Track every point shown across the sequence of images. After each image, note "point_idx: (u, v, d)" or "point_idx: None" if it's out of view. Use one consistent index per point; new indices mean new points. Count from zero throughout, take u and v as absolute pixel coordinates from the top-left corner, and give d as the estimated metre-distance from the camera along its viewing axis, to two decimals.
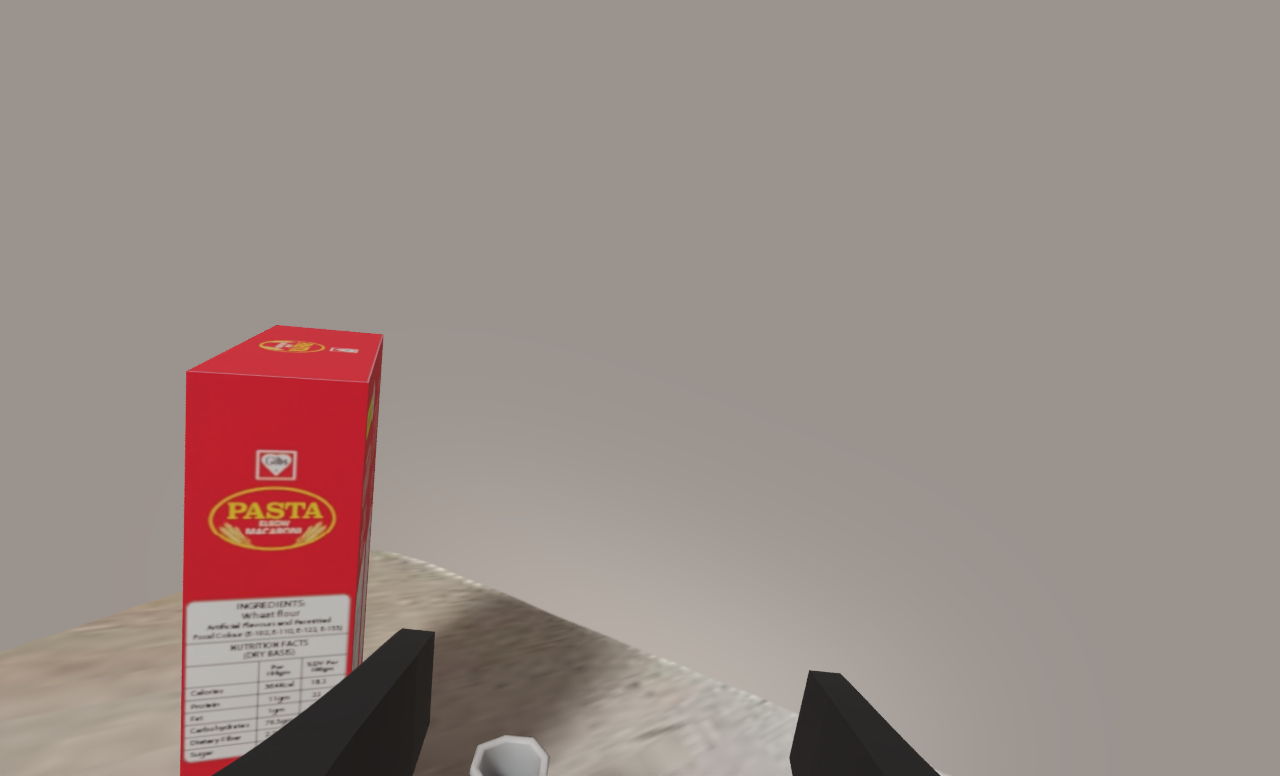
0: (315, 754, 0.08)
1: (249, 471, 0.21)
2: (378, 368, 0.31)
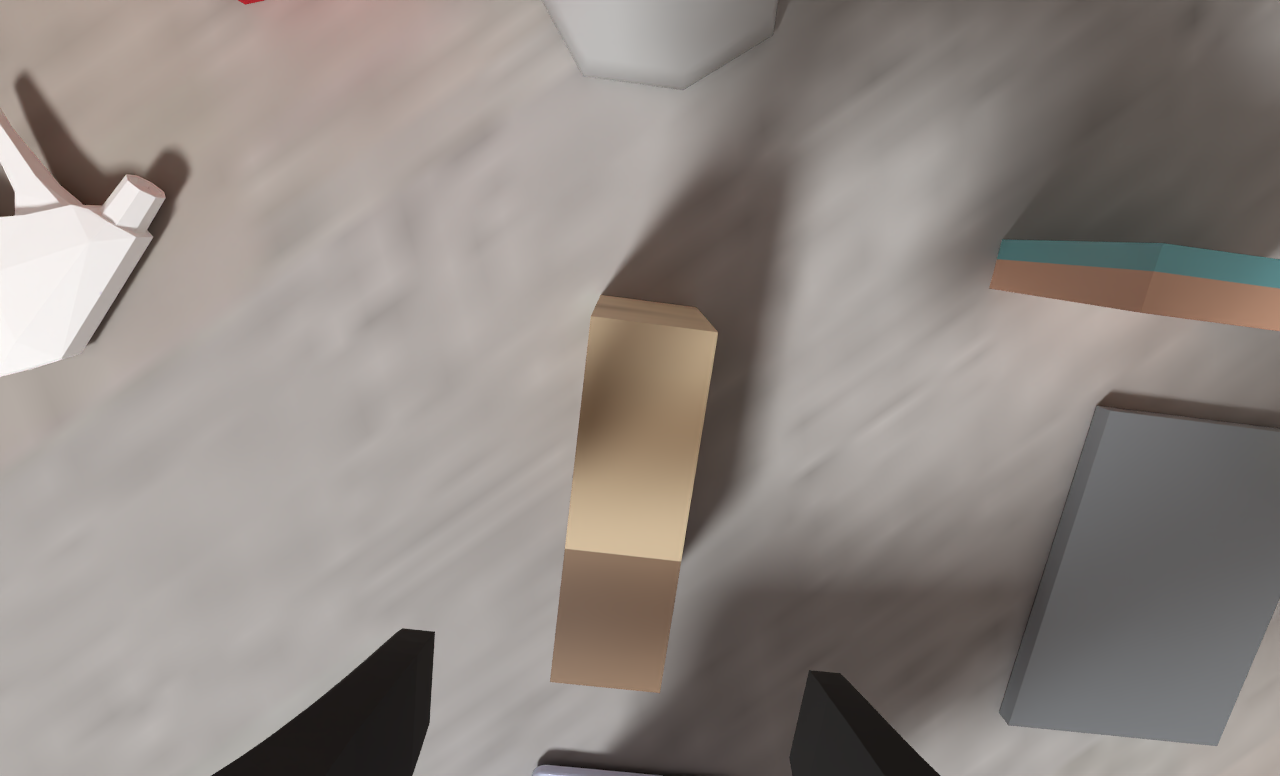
0: (315, 754, 0.08)
1: None
2: None
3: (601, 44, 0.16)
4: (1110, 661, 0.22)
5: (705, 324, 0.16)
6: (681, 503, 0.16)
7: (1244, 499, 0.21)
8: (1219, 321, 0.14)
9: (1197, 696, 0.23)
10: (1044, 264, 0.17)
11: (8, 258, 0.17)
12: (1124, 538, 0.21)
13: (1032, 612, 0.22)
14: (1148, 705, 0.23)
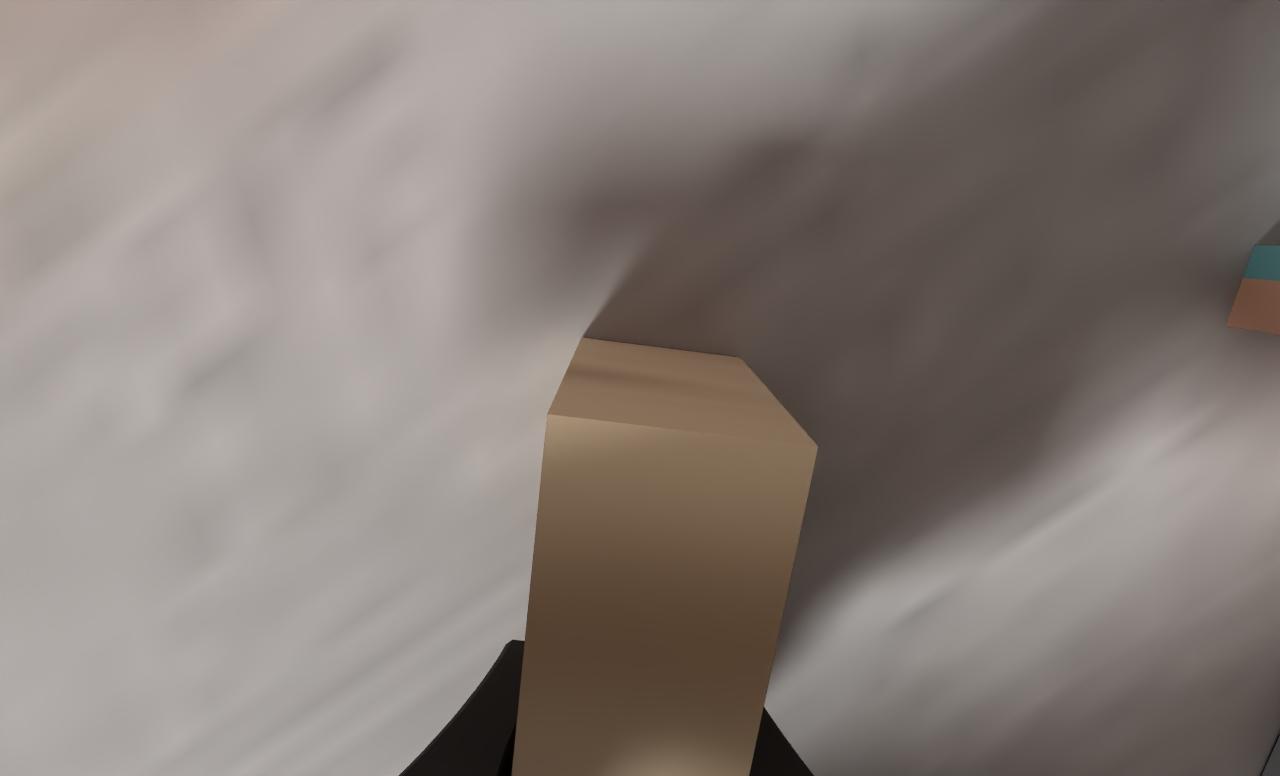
0: (475, 770, 0.08)
1: None
2: None
3: None
4: None
5: (779, 415, 0.08)
6: (732, 769, 0.08)
7: None
8: None
9: None
10: None
11: None
12: None
13: None
14: None
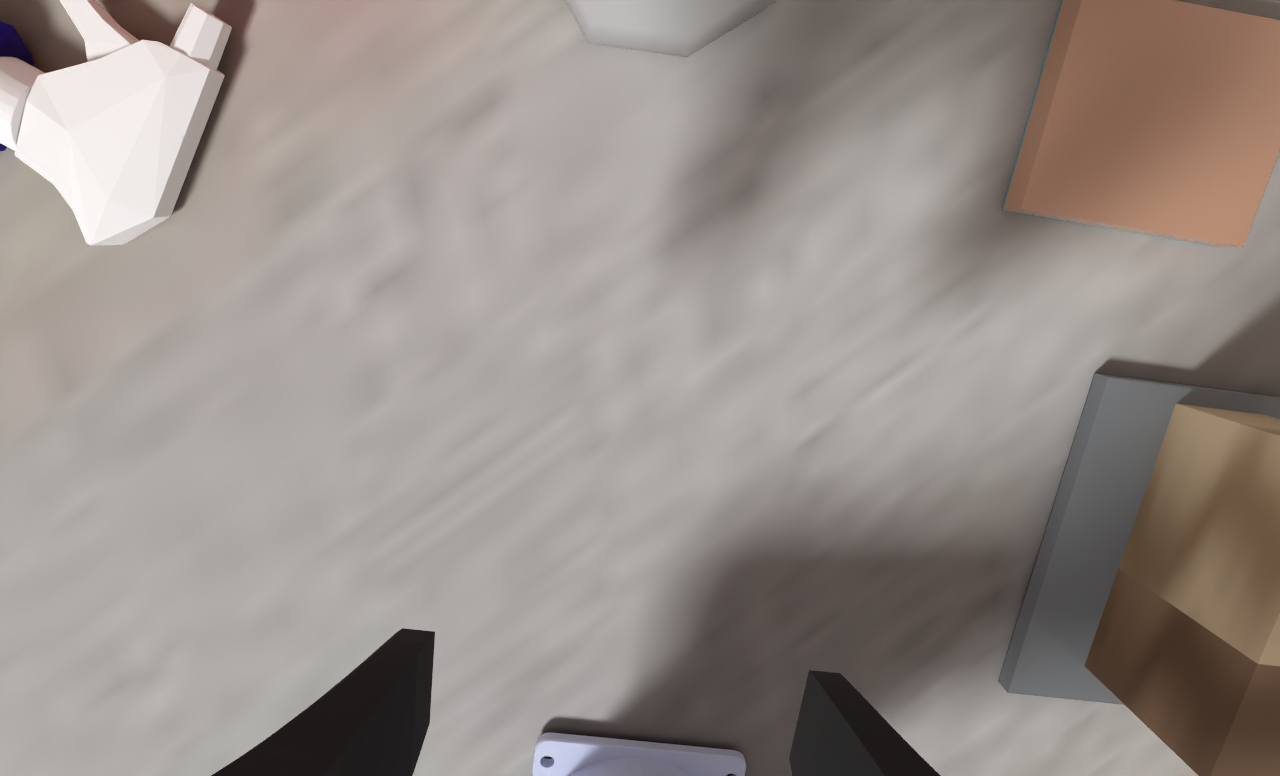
0: (315, 754, 0.08)
1: None
2: None
3: (606, 9, 0.16)
4: None
5: None
6: None
7: None
8: None
9: None
10: (1026, 130, 0.19)
11: (89, 108, 0.17)
12: (1122, 505, 0.21)
13: (1031, 580, 0.23)
14: None
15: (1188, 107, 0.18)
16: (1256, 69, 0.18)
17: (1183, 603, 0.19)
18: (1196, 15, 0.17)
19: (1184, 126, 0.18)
